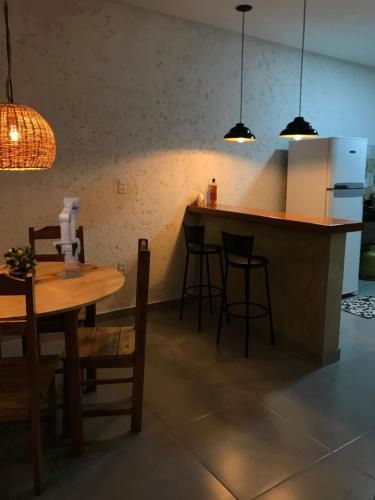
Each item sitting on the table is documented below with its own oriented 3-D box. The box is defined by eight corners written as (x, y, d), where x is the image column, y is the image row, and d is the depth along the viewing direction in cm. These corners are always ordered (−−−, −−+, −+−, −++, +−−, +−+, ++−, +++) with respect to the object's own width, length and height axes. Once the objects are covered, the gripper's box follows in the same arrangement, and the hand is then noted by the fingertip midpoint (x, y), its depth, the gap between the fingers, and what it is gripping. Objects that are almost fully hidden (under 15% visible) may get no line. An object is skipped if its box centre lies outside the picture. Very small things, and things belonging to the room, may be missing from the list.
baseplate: (58, 276, 234) (58, 275, 233) (79, 273, 240) (79, 272, 240) (62, 279, 228) (62, 278, 228) (83, 276, 235) (83, 275, 234)
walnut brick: (65, 274, 234) (65, 268, 234) (73, 273, 237) (73, 267, 236) (68, 276, 231) (68, 269, 230) (76, 275, 233) (76, 268, 233)
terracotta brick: (65, 268, 234) (65, 261, 233) (73, 267, 236) (73, 260, 235) (68, 269, 230) (67, 262, 229) (76, 268, 232) (75, 261, 232)
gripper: (55, 235, 227) (56, 259, 230) (80, 233, 235) (81, 256, 238) (51, 233, 233) (52, 257, 235) (76, 232, 241) (77, 254, 243)
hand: (67, 256), depth 237 cm, fingers open, 7 cm apart
